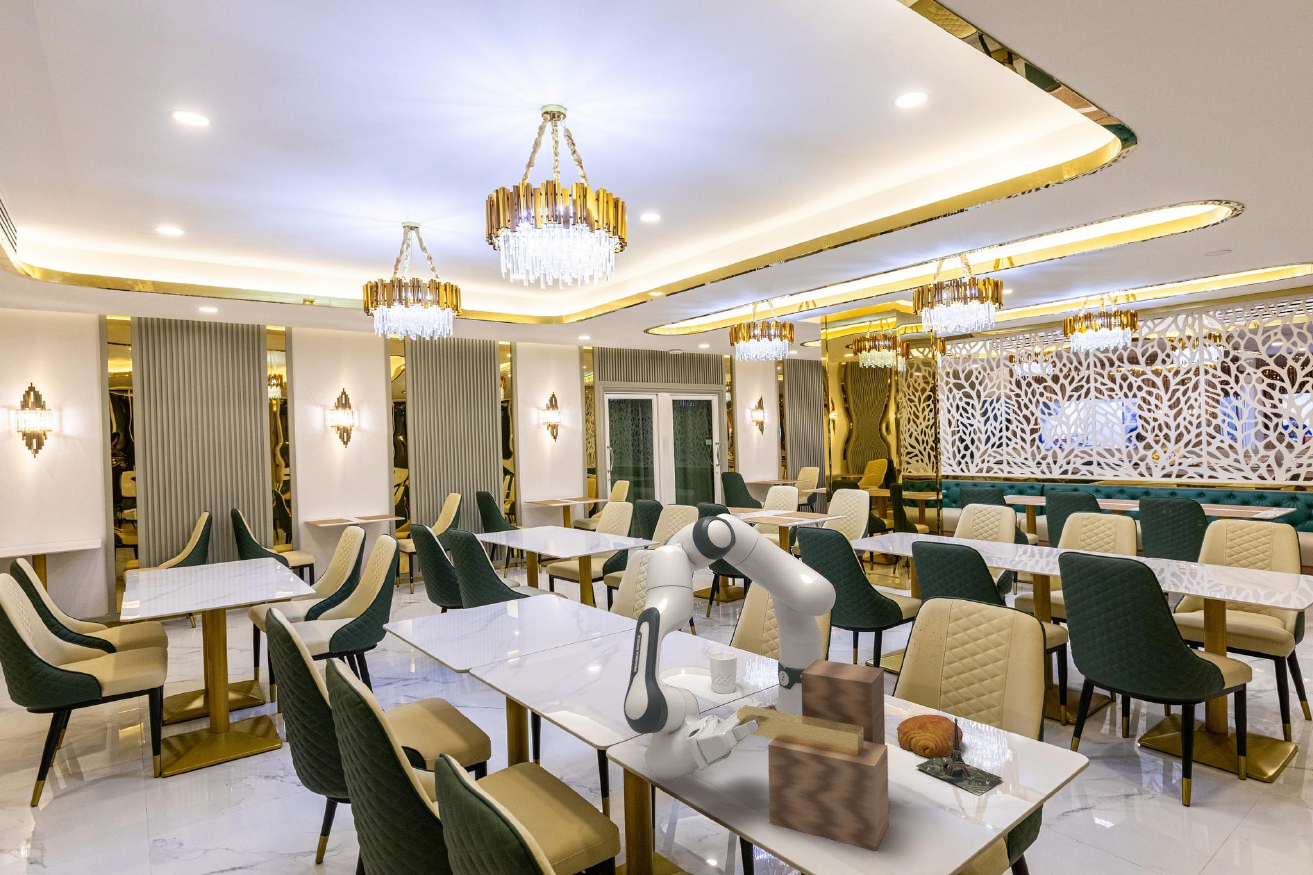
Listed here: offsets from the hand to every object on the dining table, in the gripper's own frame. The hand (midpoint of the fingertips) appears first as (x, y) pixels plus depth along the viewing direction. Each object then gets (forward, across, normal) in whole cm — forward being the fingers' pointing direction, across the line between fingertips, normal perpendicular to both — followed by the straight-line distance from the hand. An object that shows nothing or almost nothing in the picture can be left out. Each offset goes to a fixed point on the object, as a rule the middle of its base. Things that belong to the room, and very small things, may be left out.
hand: (766, 715), depth 146 cm
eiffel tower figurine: (+18, -33, -32) cm, 49 cm away
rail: (+4, 0, -6) cm, 7 cm away
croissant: (+10, -46, -28) cm, 55 cm away
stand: (+1, -5, -22) cm, 23 cm away
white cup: (-41, -59, +2) cm, 72 cm away
